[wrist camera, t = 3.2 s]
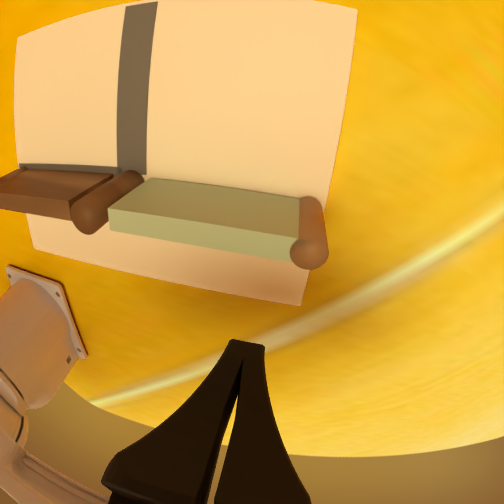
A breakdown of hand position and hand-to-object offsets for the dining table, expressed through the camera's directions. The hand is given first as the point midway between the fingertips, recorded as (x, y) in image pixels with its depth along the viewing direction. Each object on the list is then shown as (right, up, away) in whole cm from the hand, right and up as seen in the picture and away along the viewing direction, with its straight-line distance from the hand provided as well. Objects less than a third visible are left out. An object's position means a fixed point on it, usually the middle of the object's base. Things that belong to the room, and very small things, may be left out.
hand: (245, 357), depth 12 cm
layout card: (-6, +10, +2) cm, 12 cm away
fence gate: (-1, +7, +3) cm, 7 cm away
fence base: (-11, +9, +3) cm, 14 cm away
